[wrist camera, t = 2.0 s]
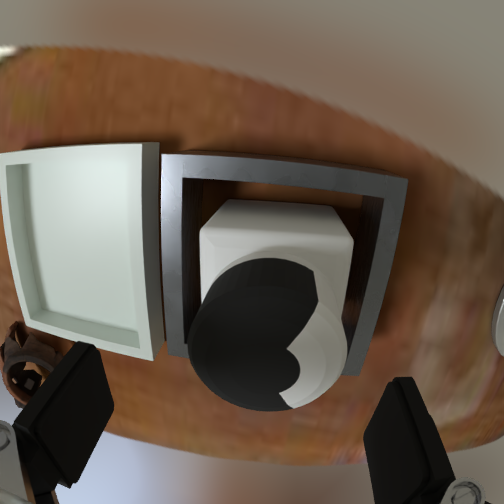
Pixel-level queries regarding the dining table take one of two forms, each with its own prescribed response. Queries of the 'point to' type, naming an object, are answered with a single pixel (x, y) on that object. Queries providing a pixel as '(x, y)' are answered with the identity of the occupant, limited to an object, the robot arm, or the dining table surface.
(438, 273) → the dining table surface
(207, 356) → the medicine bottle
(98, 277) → the tray
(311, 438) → the dining table surface
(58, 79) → the dining table surface
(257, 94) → the dining table surface
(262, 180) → the holder
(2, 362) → the broken pottery ring
